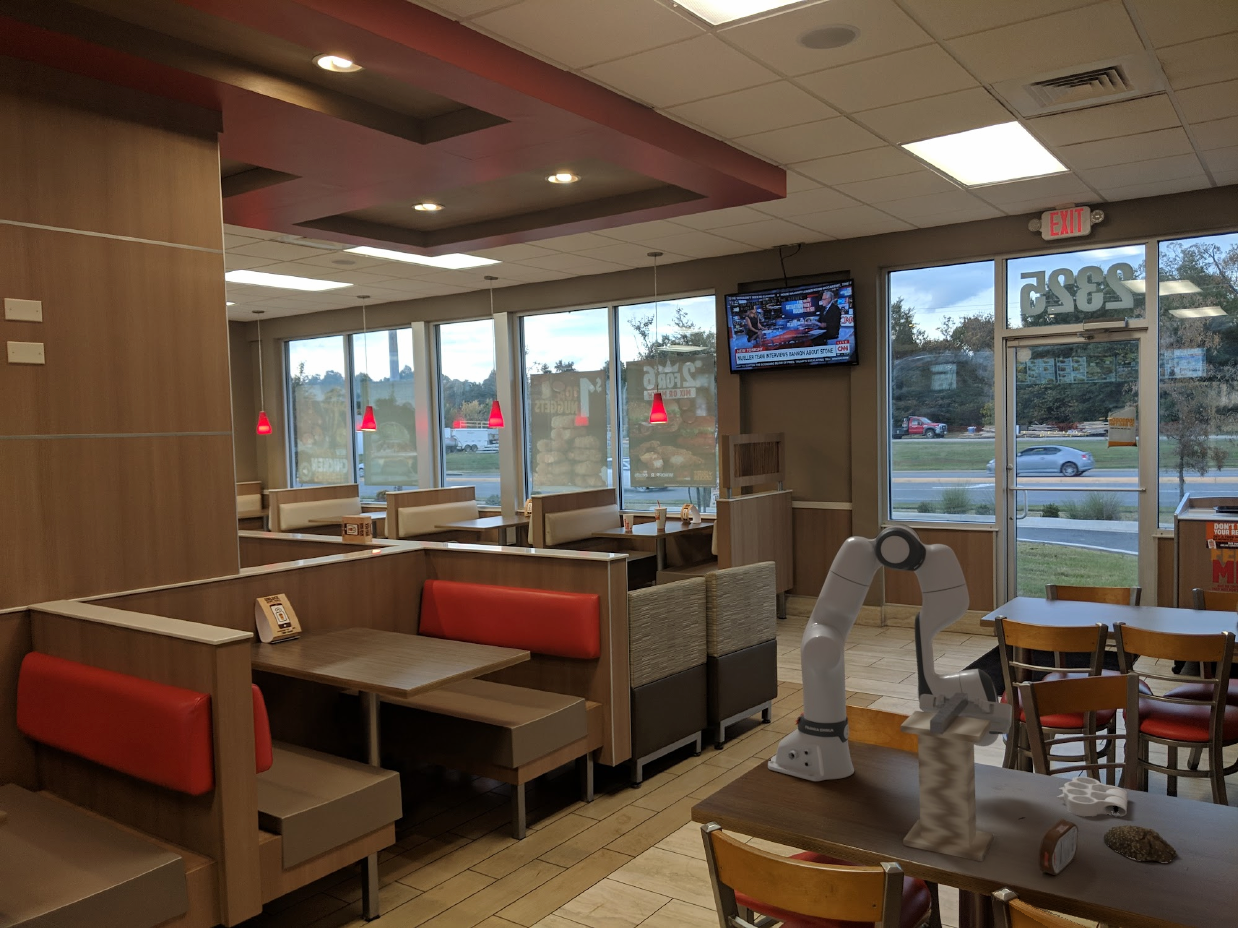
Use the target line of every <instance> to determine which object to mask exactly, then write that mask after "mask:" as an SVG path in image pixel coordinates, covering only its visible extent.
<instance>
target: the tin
mask: <svg viewBox="0 0 1238 928" xmlns="http://www.w3.org/2000/svg"><path fill="white" fill-rule="evenodd" d="M1078 836H1079V827H1078V825H1077V824H1076V823H1074V822H1072V821H1069V820H1066V819H1063V818H1062V819H1060V820H1059V821H1058V822H1056V823H1055V824H1054V825H1052V827H1050V828H1049V829H1047V830H1046V831H1045V833H1044V835H1043V837H1042V839H1041V843H1040V847H1039V851H1038V852H1039V853H1038V867H1039V869H1040V871H1041V872H1042V873H1047V874H1049V875H1052V876H1058V875H1059V874H1060V873H1061V872H1063V871H1064V869H1066V868H1067V867H1068V866H1069V865H1070V864H1071V863H1072V862H1073V861H1072V860H1074V859H1075V857H1076V854H1077V851H1078ZM1070 862H1071V863H1070ZM1069 863H1070V864H1069ZM1067 865H1068V866H1067ZM1066 866H1067V867H1066Z"/></svg>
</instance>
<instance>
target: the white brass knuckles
mask: <svg viewBox="0 0 1238 928" xmlns="http://www.w3.org/2000/svg"><path fill="white" fill-rule="evenodd" d="M1071 779H1072V780H1071V781H1067V782H1065V783H1064V784H1063V787H1058V790H1060V791H1061V792H1062V793H1061V794H1060V795H1057V796H1056V798H1057V799H1059V800H1060V801H1062V802H1063V804H1064V806H1066V807H1067V812H1069V813H1071V814H1073V815H1075V816H1079V817H1085V816H1092V817H1096V816H1098V815H1107V814H1109V816H1112V815H1111V814H1112V812H1111V811H1114V812H1115V809H1113V808H1115V806H1117V810H1119V812H1118V813H1119V814H1120V815H1117V816H1120V817H1124V816H1126V815H1127V808H1128V797H1129V795H1128V792H1127V791H1126V790H1125V789H1124V788H1121V787H1118V786H1114V785H1111V784H1104V783H1102V782H1100V781H1099V780H1098V779H1095V778H1091V777H1088V776H1074V777H1072V778H1071ZM1113 806H1114V807H1113ZM1114 812H1113V814H1114ZM1097 814H1098V815H1097ZM1117 816H1116V817H1117Z"/></svg>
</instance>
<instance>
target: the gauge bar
mask: <svg viewBox="0 0 1238 928" xmlns="http://www.w3.org/2000/svg"><path fill="white" fill-rule="evenodd" d="M967 705H968V694H967V693H958V692H956V693H955V694H954V695H953V697H952V698H951V699H950V700H949V701H948V702H947V703H946V704H945V705H944V706H943V707H942V708H941V709H940V711H939V712H938V713H937V714H936V715H935V716H934V717H933V718H932V719H931V720H930V733H936V734H943V733H944V732H945V731H946V730H947V729H948V727H949V726H950V725H951V724H952V723H953V722H954V720H955V719H956V718H957V717H958V716H959V714H960V713H961V712H962V711H963V710H964V709H965V707H966V706H967Z"/></svg>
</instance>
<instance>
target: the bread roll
mask: <svg viewBox="0 0 1238 928" xmlns="http://www.w3.org/2000/svg"><path fill="white" fill-rule="evenodd" d="M1103 841H1104V843H1105V844H1106V845H1107V846H1108V845H1109V846H1110V847H1111V848H1113V849H1114V850H1116V851H1118V852H1120V853H1123V854H1124V855H1126V856H1128V857H1131V858H1135V859H1136V860H1141V861H1140V862H1149V861H1154V862H1158V863H1160V862H1170V860H1172V861H1173V858H1175V857H1177V851H1176V849H1175V848H1174V847H1173V846H1172V845H1171V844H1170V843H1168V842H1167V840H1165V839H1164V838H1163V837H1162V836H1161V835H1160V834H1159V832H1157V831H1155V830H1154V829H1152V828H1146V827H1143V826H1142V827H1140V826H1136V825H1130V824H1126V825H1119V826H1115V827H1114V826H1113V827H1111V829H1109V830H1108V831H1107V832H1106V833H1104V836H1103ZM1110 847H1109V848H1110ZM1111 848H1110V849H1111ZM1113 849H1112V850H1113ZM1114 850H1113V851H1114ZM1124 855H1123V856H1124ZM1174 856H1175V857H1174ZM1128 857H1127V858H1128ZM1170 863H1171V862H1170Z"/></svg>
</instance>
